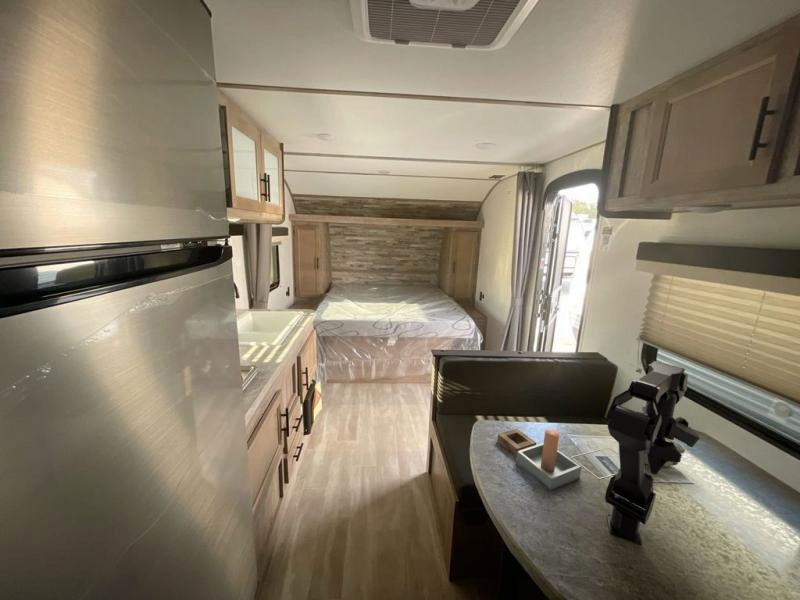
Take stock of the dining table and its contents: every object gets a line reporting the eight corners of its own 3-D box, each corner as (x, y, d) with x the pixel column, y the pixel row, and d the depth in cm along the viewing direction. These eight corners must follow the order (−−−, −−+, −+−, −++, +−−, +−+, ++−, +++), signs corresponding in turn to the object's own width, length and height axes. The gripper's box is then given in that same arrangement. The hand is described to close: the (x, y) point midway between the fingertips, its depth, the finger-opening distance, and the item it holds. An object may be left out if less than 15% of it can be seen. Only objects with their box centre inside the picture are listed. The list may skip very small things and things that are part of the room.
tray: (579, 478, 97) (581, 466, 97) (549, 490, 92) (551, 478, 91) (544, 452, 109) (545, 441, 108) (516, 462, 103) (517, 451, 103)
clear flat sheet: (570, 456, 107) (608, 447, 113) (570, 458, 107) (608, 448, 113) (599, 479, 97) (639, 467, 103) (598, 480, 97) (639, 468, 103)
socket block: (535, 450, 110) (536, 442, 109) (516, 456, 106) (517, 448, 105) (516, 435, 118) (516, 428, 117) (497, 441, 114) (498, 433, 113)
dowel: (554, 473, 98) (559, 438, 95) (540, 469, 99) (544, 434, 97) (554, 465, 101) (559, 431, 99) (540, 461, 103) (545, 428, 101)
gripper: (716, 438, 71) (701, 498, 74) (684, 401, 88) (673, 451, 91) (655, 424, 76) (643, 481, 79) (636, 392, 93) (627, 440, 95)
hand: (648, 462), depth 86 cm, fingers open, 9 cm apart
